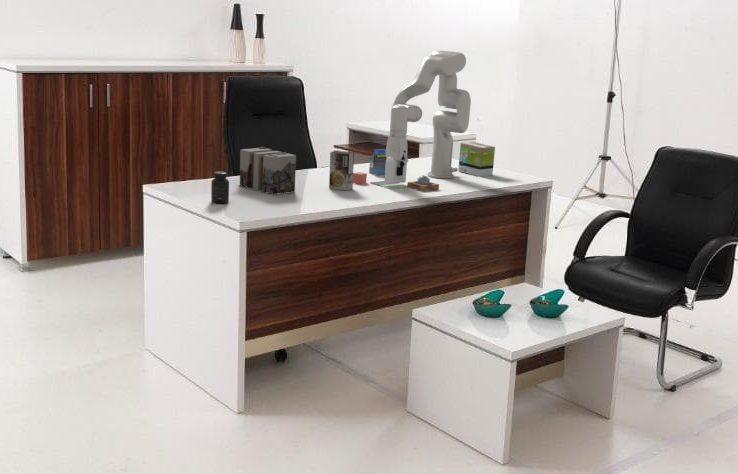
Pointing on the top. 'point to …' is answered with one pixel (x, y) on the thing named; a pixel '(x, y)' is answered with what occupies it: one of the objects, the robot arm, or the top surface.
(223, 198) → the supplement bottle
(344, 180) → the coffee box
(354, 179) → the die
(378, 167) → the blue retail box
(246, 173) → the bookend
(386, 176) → the photo printer
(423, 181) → the dome
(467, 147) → the tea box
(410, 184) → the frame
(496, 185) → the top surface
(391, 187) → the pad
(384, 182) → the pad
